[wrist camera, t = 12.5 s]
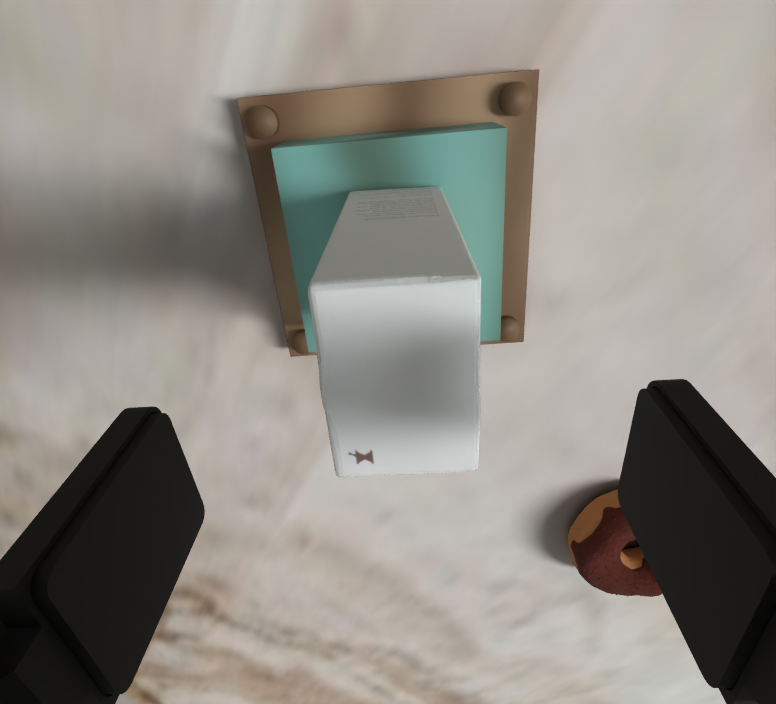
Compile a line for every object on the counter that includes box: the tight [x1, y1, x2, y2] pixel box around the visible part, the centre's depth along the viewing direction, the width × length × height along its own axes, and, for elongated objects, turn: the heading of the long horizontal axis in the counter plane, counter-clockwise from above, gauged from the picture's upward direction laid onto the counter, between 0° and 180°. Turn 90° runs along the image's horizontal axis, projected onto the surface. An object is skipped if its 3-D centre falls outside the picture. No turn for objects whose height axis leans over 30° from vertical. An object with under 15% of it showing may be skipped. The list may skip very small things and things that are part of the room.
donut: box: [568, 489, 662, 597], centre depth 36 cm, size 10×10×4 cm
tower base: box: [237, 69, 539, 357], centre depth 25 cm, size 14×14×4 cm
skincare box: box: [308, 186, 481, 477], centre depth 18 cm, size 6×4×12 cm
